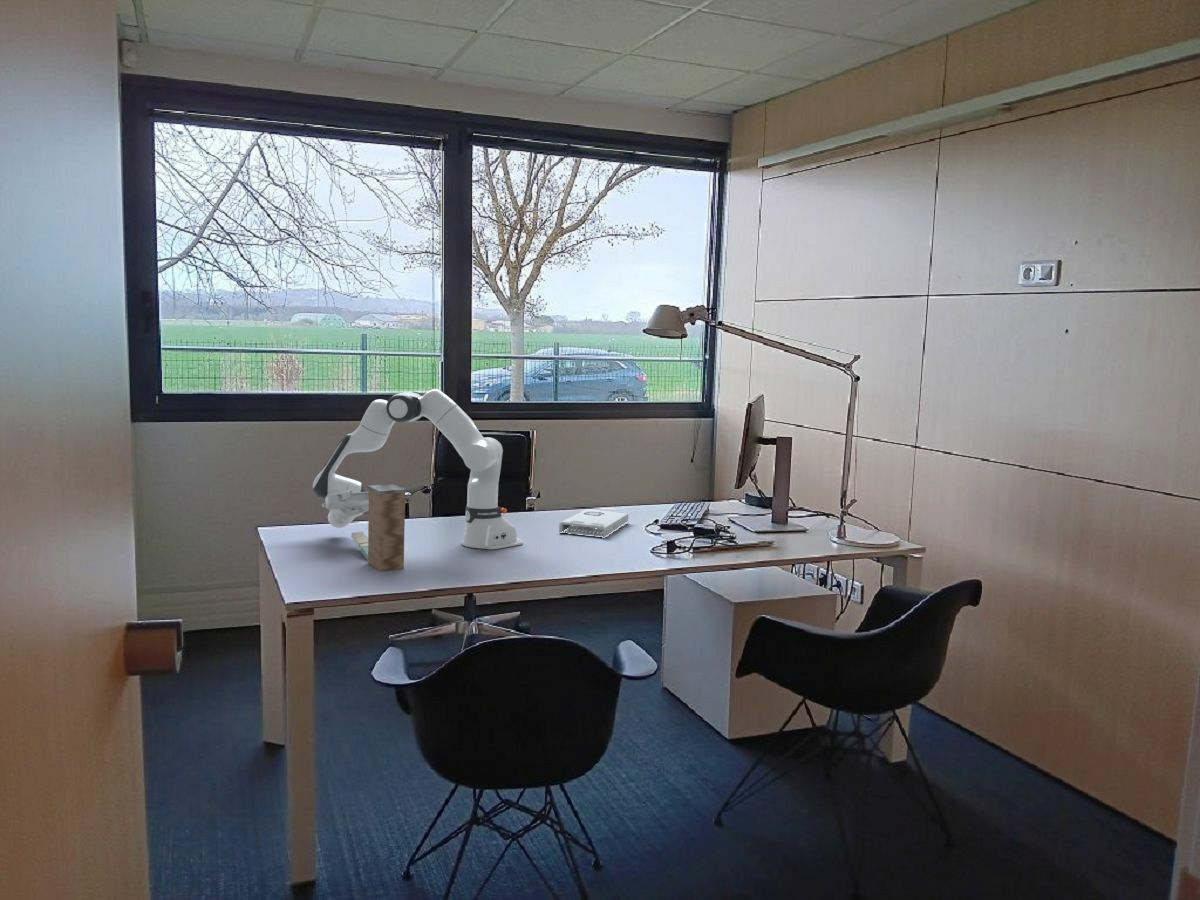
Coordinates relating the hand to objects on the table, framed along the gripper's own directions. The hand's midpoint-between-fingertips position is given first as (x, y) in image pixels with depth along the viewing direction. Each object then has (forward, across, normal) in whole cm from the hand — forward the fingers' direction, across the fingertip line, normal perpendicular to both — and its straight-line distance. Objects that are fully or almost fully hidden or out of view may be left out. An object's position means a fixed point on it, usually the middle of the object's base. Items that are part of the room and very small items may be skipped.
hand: (361, 492), depth 306 cm
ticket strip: (-4, 0, +19) cm, 20 cm away
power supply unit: (-8, +97, +20) cm, 99 cm away
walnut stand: (+11, 0, +30) cm, 32 cm away
